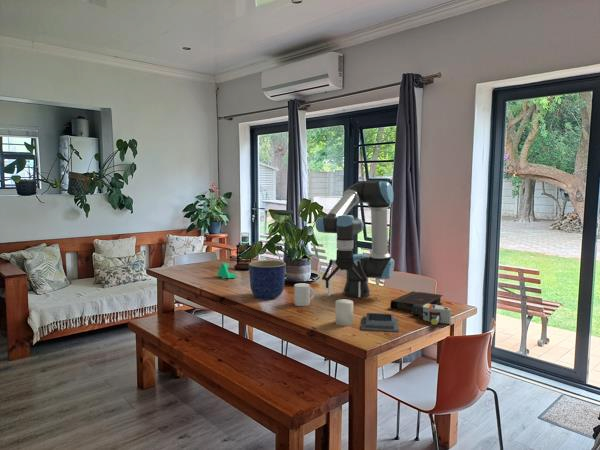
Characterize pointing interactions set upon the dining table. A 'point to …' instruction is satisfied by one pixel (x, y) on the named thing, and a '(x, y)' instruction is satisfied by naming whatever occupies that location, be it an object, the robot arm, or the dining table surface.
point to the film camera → (433, 313)
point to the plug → (344, 312)
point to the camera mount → (225, 271)
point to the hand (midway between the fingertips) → (344, 295)
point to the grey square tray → (380, 322)
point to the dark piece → (241, 265)
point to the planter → (267, 278)
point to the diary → (414, 300)
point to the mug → (302, 294)
